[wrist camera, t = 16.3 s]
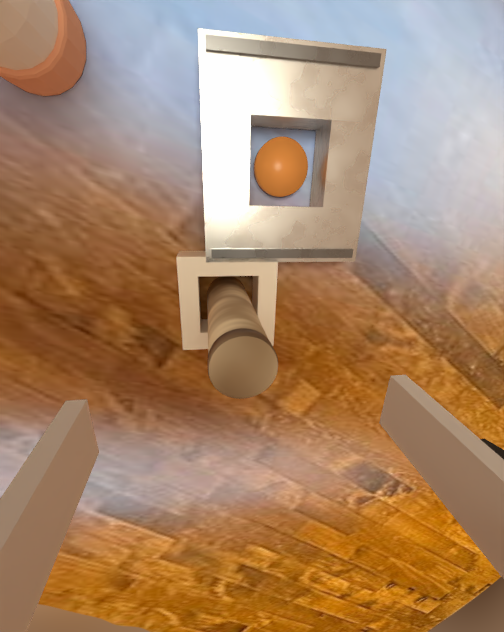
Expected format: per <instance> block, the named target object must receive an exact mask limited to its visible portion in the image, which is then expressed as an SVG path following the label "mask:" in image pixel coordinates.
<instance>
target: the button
mask: <svg viewBox="0 0 504 632" xmlns="http://www.w3.org/2000/svg"><path fill="white" fill-rule="evenodd" d="M307 170H308V162H307V157H306V154H305V152H304V150H303V148H302V147H301V145H300V144H299V143H298V142H296V141H295V140H293V139H291V138H288V137H276V138H273V139H271V140H269V141H268V142H267V143H265V144H264V145H263V146H262V147H261V149H260V150H259V152H258V153H257V156H256V158H255V162H254V175H255V178H256V181H257V183H258V185H259V186H260V188H261V189H262V190H263V191H264V192H266V193H267V194H269V195H271V196H275V197H283V196H288V195H291V194H292V193H294V192H296V191H297V190H298V189H299V188H300V187H301V185H302V184H303V182H304V180H305V178H306V175H307Z"/></svg>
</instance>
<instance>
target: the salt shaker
mask: <svg viewBox="0 0 504 632" xmlns="http://www.w3.org/2000/svg"><path fill="white" fill-rule="evenodd" d="M85 62H86V40H85V37H84V33H83V29H82V26H81V22H80V20H79V18H78V16H77V15H76V13H75V11H74V9H73V7H72V6H71V4H70V2H69V1H68V0H0V76H1V77H2V78H4V79H6V80H7V81H9V82H10V83H12V84H14V85H16V86H17V87H19V88H21V89H23V90H25V91H26V92H29V93H33V94H37V95H41V96H51V95H60V94H61V93H63V92H65V91H67V90H69V89H70V88H72V87H73V86H74V85H75V83H76V82H77V81H78V79H79V78H80V77H81V75H82V72H83V68H84V65H85Z"/></svg>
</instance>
